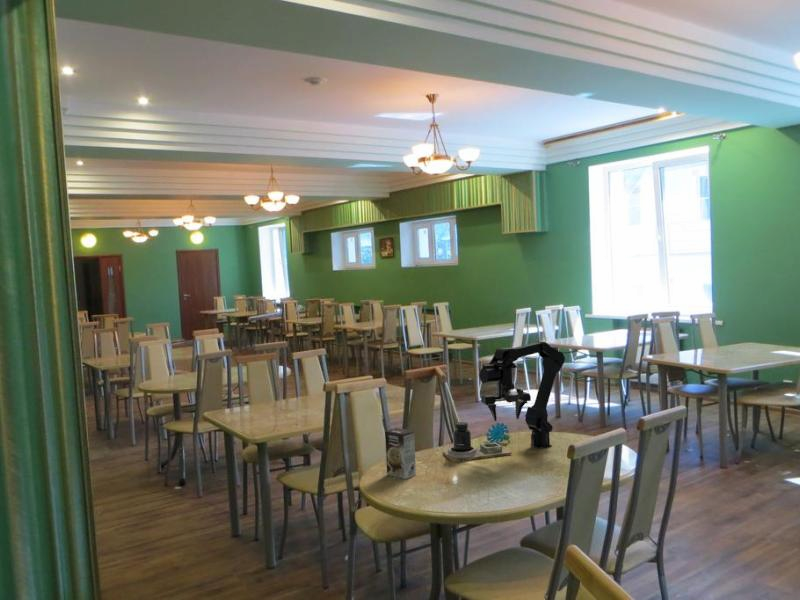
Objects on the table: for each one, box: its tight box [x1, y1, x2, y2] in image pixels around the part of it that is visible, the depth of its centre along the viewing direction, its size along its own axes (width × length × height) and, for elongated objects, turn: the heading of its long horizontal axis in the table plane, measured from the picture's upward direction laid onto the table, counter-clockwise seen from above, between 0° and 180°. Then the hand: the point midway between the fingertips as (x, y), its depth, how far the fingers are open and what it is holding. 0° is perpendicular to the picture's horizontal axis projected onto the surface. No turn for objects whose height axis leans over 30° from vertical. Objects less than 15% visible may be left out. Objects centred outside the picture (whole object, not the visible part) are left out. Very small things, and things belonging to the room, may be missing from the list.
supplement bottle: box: [452, 421, 472, 452], centre depth 258 cm, size 7×7×12 cm
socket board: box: [442, 441, 512, 463], centre depth 260 cm, size 24×12×3 cm, turn 105°
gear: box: [485, 422, 512, 444], centre depth 278 cm, size 11×6×10 cm
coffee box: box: [384, 427, 417, 480], centre depth 238 cm, size 9×6×16 cm
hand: (506, 420), depth 259 cm, fingers open, 9 cm apart
